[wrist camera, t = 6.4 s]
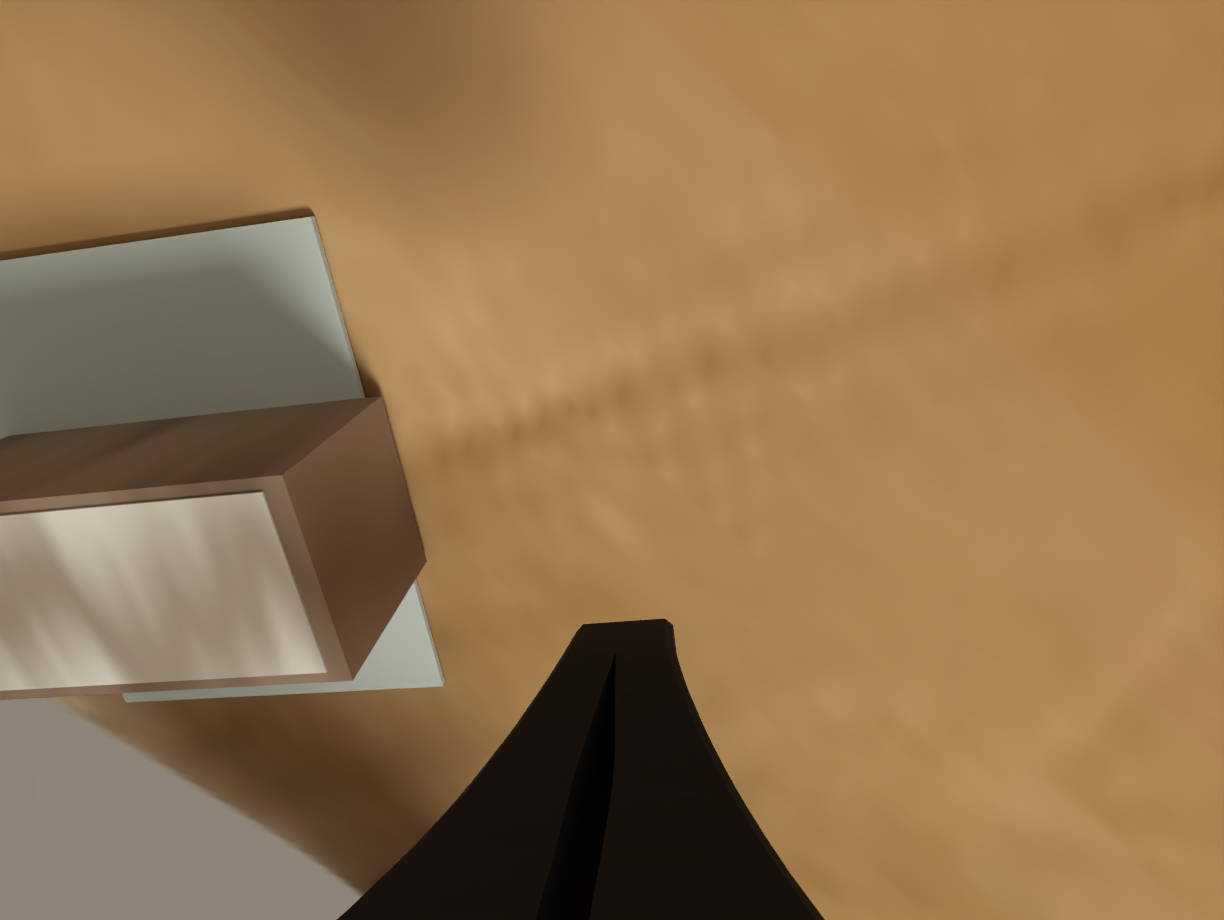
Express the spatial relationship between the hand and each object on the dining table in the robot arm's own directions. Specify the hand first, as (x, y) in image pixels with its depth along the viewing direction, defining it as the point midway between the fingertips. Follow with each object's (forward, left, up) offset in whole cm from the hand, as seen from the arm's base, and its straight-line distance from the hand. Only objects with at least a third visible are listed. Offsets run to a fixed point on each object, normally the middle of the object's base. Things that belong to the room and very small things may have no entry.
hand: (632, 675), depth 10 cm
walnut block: (0, +7, -6) cm, 9 cm away
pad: (0, +13, -8) cm, 15 cm away
